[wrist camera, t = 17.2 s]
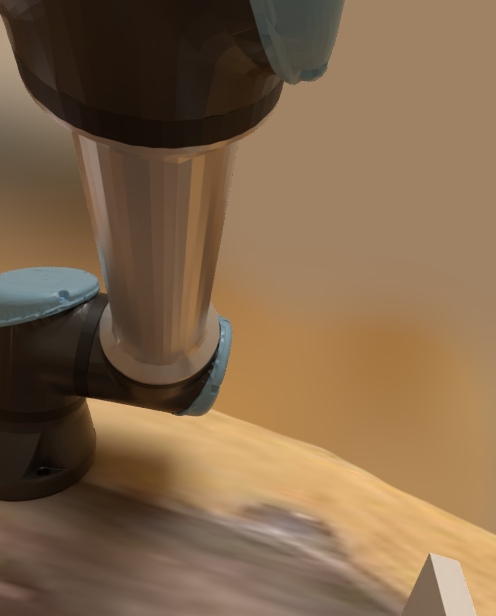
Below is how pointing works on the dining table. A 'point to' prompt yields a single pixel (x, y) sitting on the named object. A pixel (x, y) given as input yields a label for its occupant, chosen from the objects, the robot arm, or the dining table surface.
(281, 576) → the dining table surface
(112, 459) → the dining table surface
